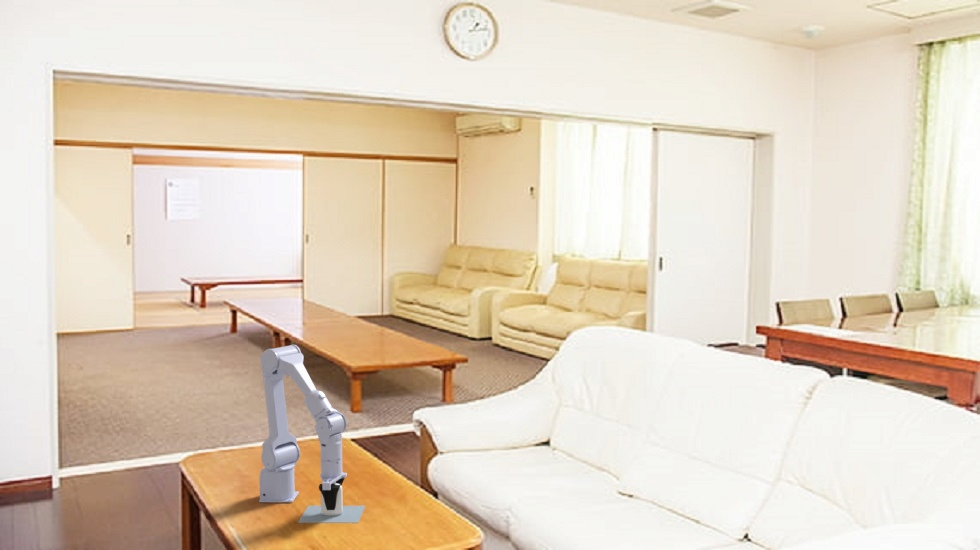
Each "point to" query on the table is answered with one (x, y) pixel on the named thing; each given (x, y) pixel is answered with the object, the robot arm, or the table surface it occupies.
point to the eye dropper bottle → (339, 504)
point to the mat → (348, 516)
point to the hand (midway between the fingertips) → (332, 506)
